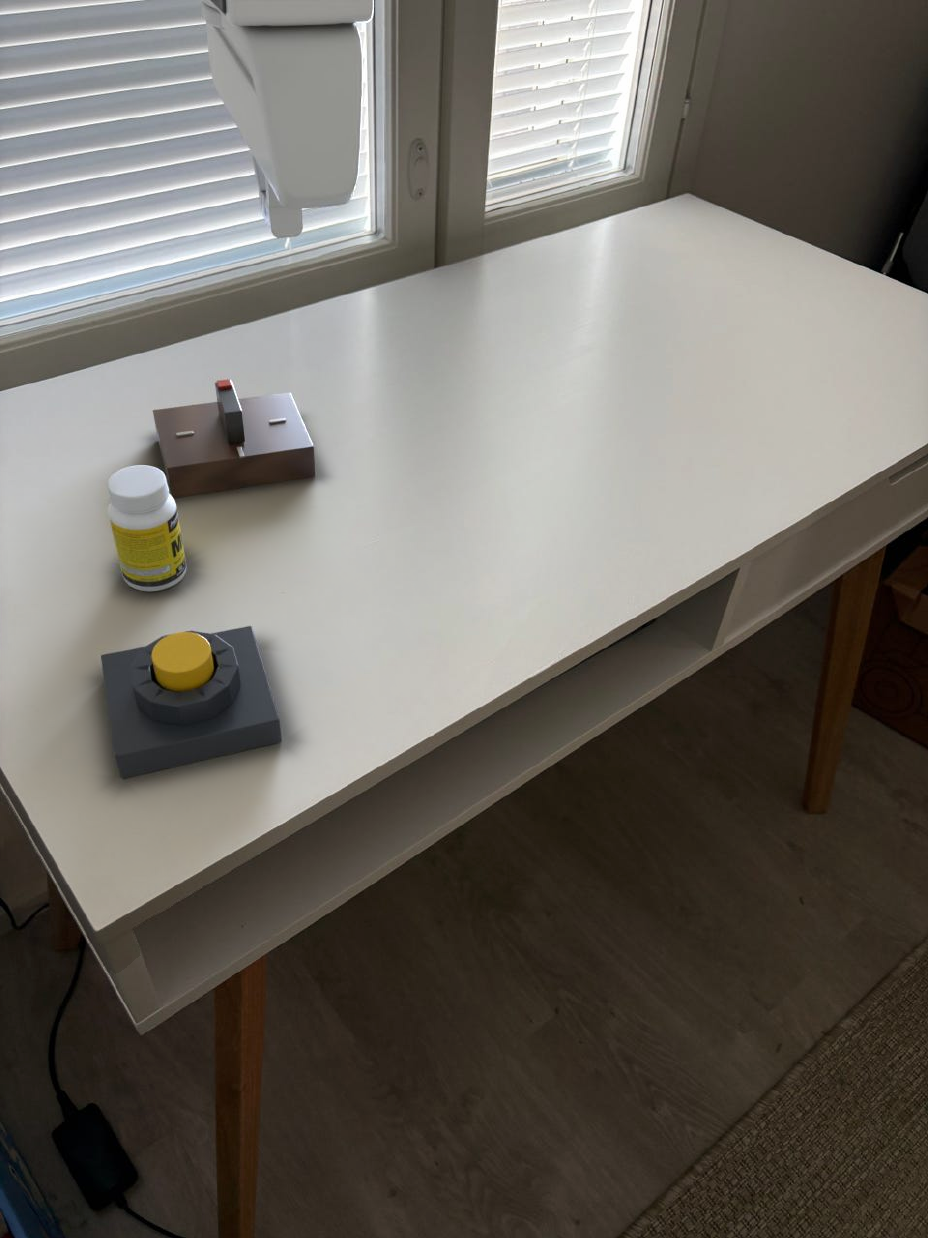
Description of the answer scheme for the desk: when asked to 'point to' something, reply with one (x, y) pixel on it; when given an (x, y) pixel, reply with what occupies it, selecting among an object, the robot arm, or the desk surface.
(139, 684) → the button block
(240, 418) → the dial knob
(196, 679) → the trigger button
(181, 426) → the dial panel
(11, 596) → the desk surface
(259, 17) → the robot arm
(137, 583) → the supplement bottle
